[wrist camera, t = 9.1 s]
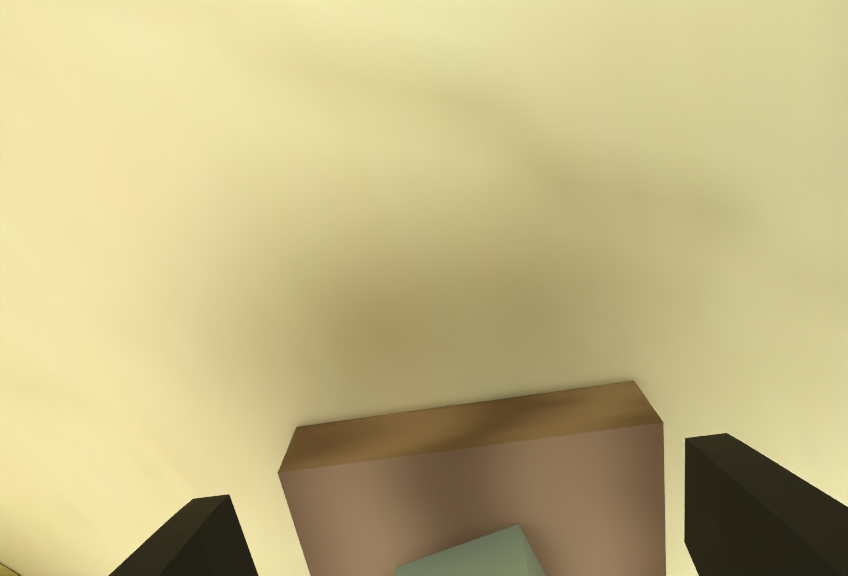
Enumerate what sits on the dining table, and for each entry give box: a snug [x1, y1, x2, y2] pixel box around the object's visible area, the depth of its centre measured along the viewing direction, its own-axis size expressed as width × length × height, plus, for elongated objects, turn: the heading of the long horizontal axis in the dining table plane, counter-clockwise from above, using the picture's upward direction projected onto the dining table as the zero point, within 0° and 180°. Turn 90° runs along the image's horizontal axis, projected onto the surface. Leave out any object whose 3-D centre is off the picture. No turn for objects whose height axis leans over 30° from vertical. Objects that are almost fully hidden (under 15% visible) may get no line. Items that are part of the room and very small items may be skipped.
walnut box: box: [278, 381, 666, 576], centre depth 20 cm, size 12×12×3 cm
